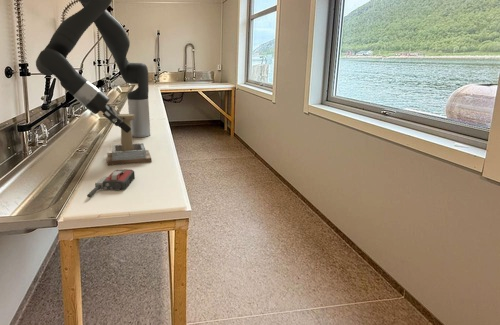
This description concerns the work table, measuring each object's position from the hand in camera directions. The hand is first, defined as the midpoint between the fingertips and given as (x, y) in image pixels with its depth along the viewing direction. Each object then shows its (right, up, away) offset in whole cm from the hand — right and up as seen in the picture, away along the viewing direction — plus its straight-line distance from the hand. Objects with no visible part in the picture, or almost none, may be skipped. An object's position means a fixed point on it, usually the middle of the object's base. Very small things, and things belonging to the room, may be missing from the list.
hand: (128, 128), depth 137 cm
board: (-1, -11, +3) cm, 12 cm away
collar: (-1, -10, +3) cm, 10 cm away
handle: (-1, -10, +3) cm, 10 cm away
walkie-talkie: (+3, -20, -25) cm, 32 cm away
